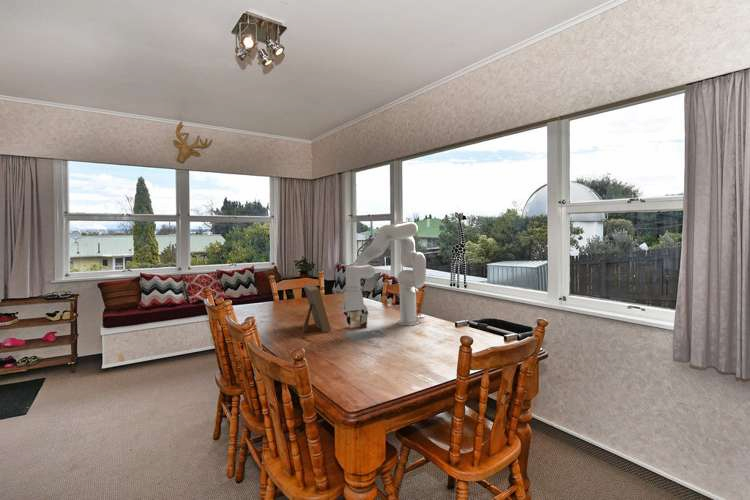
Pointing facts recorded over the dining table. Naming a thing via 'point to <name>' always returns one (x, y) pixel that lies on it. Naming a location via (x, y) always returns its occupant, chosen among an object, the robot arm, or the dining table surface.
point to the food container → (363, 320)
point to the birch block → (354, 319)
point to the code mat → (365, 335)
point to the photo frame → (316, 308)
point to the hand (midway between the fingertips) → (354, 322)
